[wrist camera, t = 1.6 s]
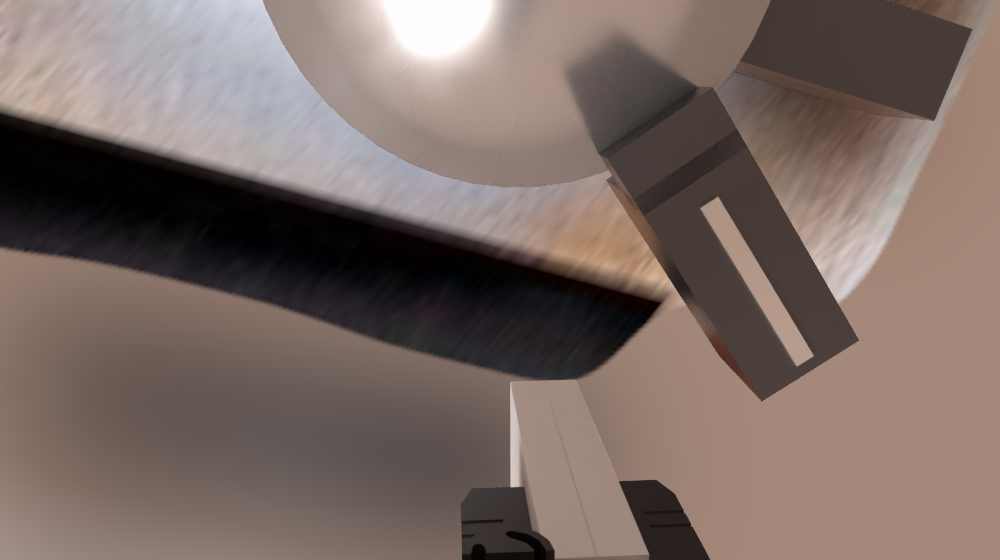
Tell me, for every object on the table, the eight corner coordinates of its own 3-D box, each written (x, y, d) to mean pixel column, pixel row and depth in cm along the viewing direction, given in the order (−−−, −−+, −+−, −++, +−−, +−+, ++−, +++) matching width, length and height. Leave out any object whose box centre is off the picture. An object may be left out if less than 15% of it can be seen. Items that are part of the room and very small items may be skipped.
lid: (588, -486, 21) (624, -638, 16) (945, 210, 27) (1043, 238, 22) (158, -147, 22) (85, -201, 18) (585, 441, 28) (609, 509, 24)
